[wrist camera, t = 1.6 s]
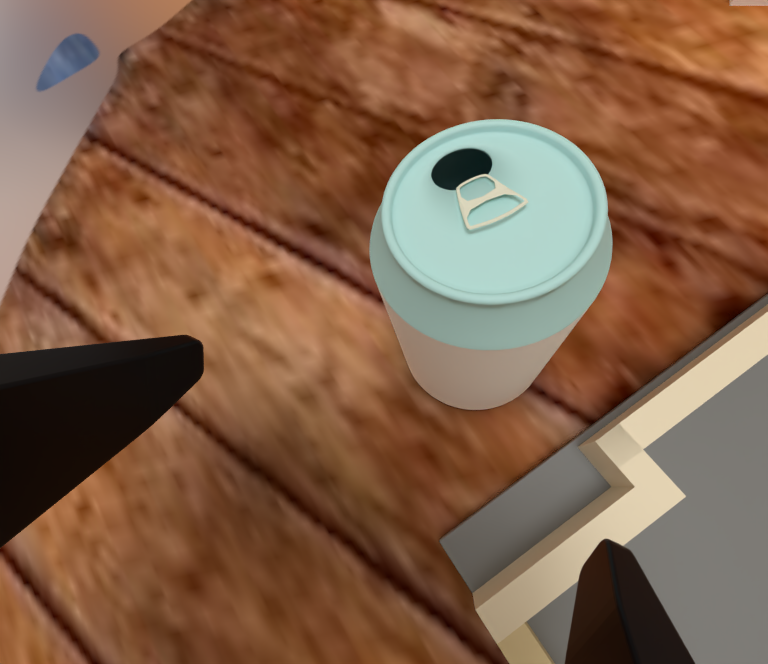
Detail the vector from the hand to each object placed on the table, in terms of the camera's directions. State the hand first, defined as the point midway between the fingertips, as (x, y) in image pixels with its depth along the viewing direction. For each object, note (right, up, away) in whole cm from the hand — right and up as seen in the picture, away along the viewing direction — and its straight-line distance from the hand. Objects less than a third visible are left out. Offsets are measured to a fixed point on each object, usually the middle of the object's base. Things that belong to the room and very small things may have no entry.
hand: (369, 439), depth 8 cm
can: (+5, +1, +14) cm, 15 cm away
